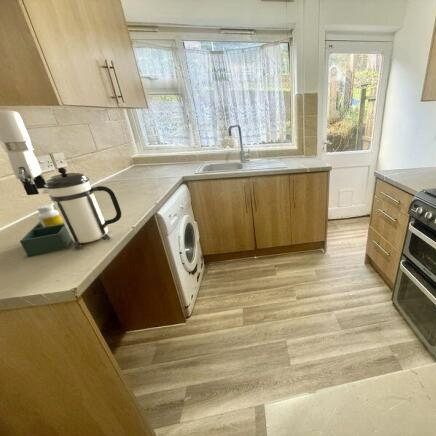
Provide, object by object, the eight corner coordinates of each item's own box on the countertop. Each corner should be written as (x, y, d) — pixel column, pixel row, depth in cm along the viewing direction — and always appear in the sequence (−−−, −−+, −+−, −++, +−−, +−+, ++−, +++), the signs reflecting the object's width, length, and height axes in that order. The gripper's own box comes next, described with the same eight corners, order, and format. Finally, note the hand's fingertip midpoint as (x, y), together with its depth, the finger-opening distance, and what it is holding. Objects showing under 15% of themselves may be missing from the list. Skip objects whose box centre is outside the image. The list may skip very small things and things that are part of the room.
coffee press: (94, 250, 92) (59, 172, 80) (60, 248, 95) (20, 172, 83) (129, 229, 108) (104, 161, 95) (98, 228, 111) (70, 162, 98)
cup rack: (27, 256, 90) (19, 241, 87) (47, 233, 107) (40, 220, 104) (66, 248, 95) (59, 233, 92) (78, 228, 112) (73, 215, 109)
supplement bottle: (72, 231, 106) (59, 204, 101) (54, 238, 101) (40, 210, 95) (62, 229, 108) (49, 203, 103) (44, 236, 103) (29, 208, 97)
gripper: (15, 145, 95) (33, 187, 102) (-8, 150, 81) (15, 198, 88) (40, 143, 99) (57, 184, 105) (22, 148, 85) (43, 195, 91)
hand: (38, 191), depth 97 cm, fingers open, 9 cm apart
